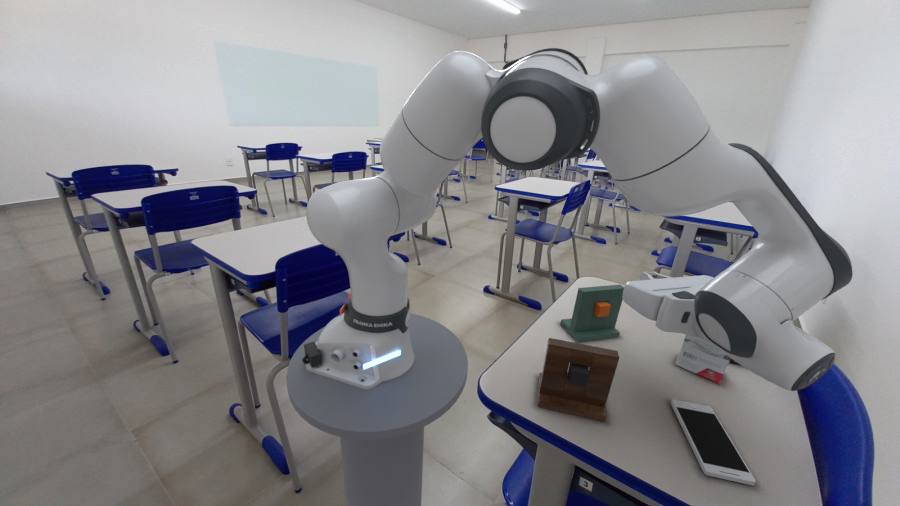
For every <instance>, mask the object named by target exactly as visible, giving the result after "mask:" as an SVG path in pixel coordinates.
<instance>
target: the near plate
mask: <svg viewBox="0 0 900 506" xmlns="http://www.w3.org/2000/svg"><path fill="white" fill-rule="evenodd" d="M547 339H548V340H547V344H546V350H545V351H546V352H545V355H544V360H543V366H542V370H541V372H539V373H538V383H537V384H538V386H537V407H539V408H541V409H547V410H550V411H551V410H552V411H556V412H559V413H560V412H561V413H565V414H569V415H572V416H577V417H582V418H587V419H589V420H595V421H599V422H604V423H605V422H606V419H607V412H606V404H607V402H608V398H609V395H610V393H611V392H610V390H611V388H612V385H613V381H614V378H615V375H616V371H617V369H618V365H619V361H620V354H619V351H618V350H616V349H611V348H604V347H600V346H595V345H589V344H584V343H580V342H573V341H567V340H563V339H557V338H552V337H548V338H547ZM570 363H573V364H578V365H583V366H588V369H589V377H588V381H587V385H586V387H583V386H579V385H574V384H569V382H568V369H569V365H570Z"/></svg>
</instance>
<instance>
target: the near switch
mask: <svg viewBox="0 0 900 506" xmlns="http://www.w3.org/2000/svg"><path fill="white" fill-rule="evenodd" d="M588 377H589V369H588V366H583V365H578V364H573V363H569V368H568V382H569V384H574V385H579V386H583V387H586V385H587V381H588Z"/></svg>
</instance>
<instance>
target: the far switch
mask: <svg viewBox="0 0 900 506" xmlns="http://www.w3.org/2000/svg"><path fill="white" fill-rule="evenodd" d="M610 307H611V305H610V304H609V303H607V302H606V301H602V302H595V306H594V310H593V313H594V314H595V315H596V316H597V317H603V316H608V315H609V311H610Z"/></svg>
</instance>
